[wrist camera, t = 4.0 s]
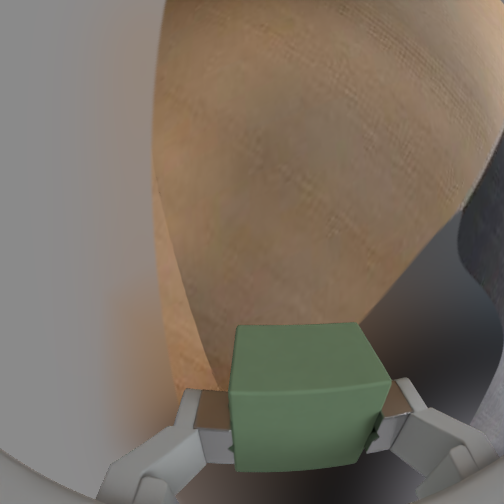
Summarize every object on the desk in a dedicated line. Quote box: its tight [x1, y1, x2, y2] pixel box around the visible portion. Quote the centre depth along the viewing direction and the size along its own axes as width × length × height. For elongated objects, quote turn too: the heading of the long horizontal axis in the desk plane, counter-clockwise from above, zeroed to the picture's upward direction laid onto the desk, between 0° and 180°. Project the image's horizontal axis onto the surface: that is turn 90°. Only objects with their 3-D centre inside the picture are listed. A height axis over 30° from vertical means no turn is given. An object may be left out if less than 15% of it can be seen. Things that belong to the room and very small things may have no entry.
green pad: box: [228, 322, 392, 472], centre depth 8 cm, size 4×4×3 cm
